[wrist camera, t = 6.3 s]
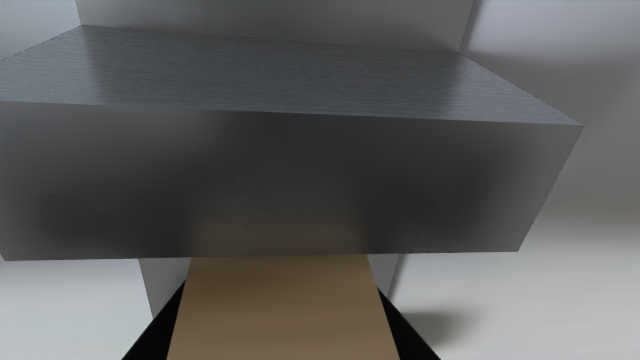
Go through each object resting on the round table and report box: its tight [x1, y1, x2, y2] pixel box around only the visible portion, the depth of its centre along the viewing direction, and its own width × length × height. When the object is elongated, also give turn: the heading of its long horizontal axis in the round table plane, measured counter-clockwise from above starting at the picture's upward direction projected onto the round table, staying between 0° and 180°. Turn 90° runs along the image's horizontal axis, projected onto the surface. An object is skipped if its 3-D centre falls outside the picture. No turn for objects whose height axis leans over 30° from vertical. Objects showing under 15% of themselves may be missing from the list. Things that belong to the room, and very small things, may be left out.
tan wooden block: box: [167, 254, 400, 360], centre depth 9 cm, size 4×4×5 cm
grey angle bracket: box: [0, 0, 585, 319], centre depth 12 cm, size 22×10×6 cm, turn 174°
